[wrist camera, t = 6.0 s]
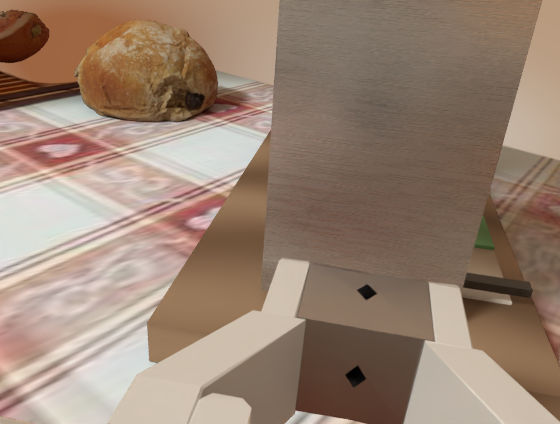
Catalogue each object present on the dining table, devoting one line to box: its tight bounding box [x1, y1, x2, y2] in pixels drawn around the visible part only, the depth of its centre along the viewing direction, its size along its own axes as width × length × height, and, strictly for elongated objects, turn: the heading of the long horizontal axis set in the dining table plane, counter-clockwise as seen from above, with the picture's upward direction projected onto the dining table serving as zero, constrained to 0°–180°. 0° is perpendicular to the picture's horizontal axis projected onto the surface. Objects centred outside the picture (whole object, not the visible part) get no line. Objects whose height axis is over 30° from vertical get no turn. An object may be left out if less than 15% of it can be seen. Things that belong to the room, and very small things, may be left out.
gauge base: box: [147, 131, 560, 421], centre depth 22 cm, size 22×12×14 cm, turn 170°
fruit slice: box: [0, 10, 49, 63], centre depth 48 cm, size 8×7×5 cm
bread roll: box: [74, 20, 218, 122], centre depth 40 cm, size 10×10×8 cm
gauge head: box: [261, 0, 542, 298], centre depth 17 cm, size 7×9×10 cm
